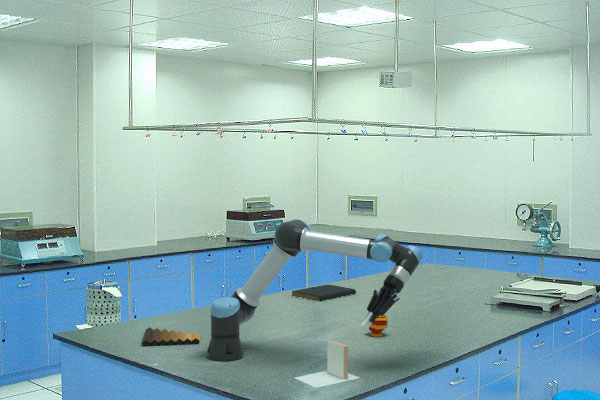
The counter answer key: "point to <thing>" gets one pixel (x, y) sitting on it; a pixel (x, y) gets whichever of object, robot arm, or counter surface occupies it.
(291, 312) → the counter surface
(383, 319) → the potion bottle
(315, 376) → the white rectangular board
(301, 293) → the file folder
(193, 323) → the counter surface
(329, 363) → the terracotta tile
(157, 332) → the pan flute
